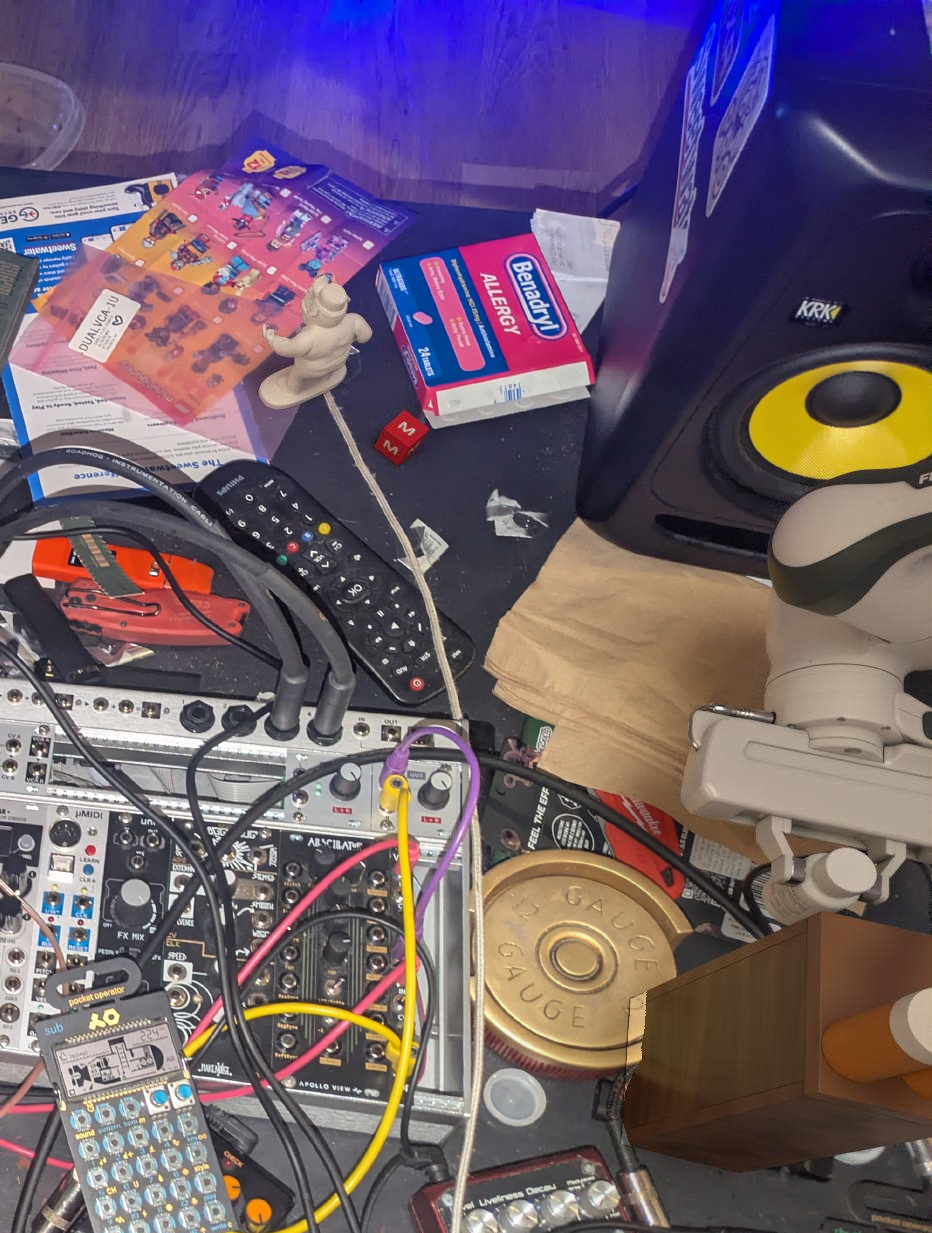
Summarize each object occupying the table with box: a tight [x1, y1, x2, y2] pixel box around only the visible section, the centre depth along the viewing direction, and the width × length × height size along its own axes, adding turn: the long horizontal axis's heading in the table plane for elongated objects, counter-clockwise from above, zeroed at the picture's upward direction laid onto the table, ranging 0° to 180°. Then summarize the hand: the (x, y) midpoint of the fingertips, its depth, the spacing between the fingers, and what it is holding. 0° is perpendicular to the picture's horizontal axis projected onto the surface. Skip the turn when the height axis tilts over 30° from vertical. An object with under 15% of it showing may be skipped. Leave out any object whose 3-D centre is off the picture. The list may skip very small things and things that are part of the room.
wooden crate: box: [621, 917, 932, 1174], centre depth 97 cm, size 9×12×24 cm
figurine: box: [257, 274, 373, 411], centre depth 128 cm, size 9×7×12 cm
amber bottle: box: [822, 988, 932, 1083], centre depth 80 cm, size 4×4×8 cm
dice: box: [373, 409, 430, 467], centre depth 128 cm, size 3×3×3 cm
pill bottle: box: [761, 847, 877, 927], centre depth 101 cm, size 4×4×8 cm
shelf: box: [804, 911, 932, 1126], centre depth 85 cm, size 9×12×2 cm
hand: (829, 892), depth 100 cm, fingers closed on pill bottle, 4 cm apart
